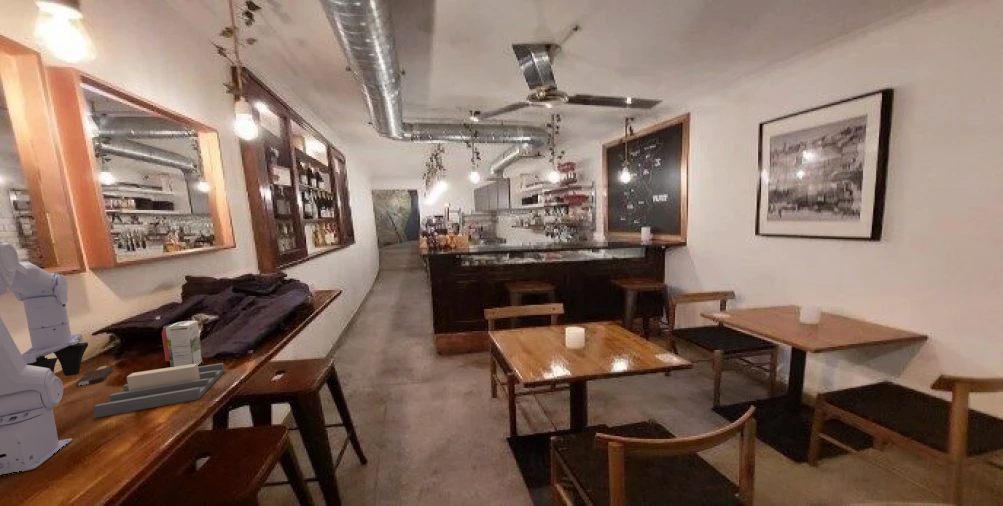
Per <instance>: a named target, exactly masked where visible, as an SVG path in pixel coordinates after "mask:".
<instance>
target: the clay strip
mask: <svg viewBox="0 0 1003 506" xmlns="http://www.w3.org/2000/svg"><path fill="white" fill-rule="evenodd" d="M198 367H199V366H198V363H196V364H189V365H183V366H176V367H165V368H157V369H151V370H150V369H149V370H143V371H137V372H132V373H129V375H127V376H126V381H127V384H128V388H129V391H133V390H139V389H145V388H151V387H157V386H163V385H170V384H176V383H182V382H188V381H194V380H200V375H199V368H198Z"/></svg>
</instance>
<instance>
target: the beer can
mask: <svg viewBox="0 0 1003 506" xmlns="http://www.w3.org/2000/svg"><path fill="white" fill-rule="evenodd" d="M175 323H176V322H175ZM175 323H171V324H167V325H164V326H163V327H162V332H161V337H162V344H163V350H164V351H163V353H164V358H165V362H166V361H170V359H169V351H168V343H167V335H166V328H167V327H169V326H171V325H173V324H175Z"/></svg>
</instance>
